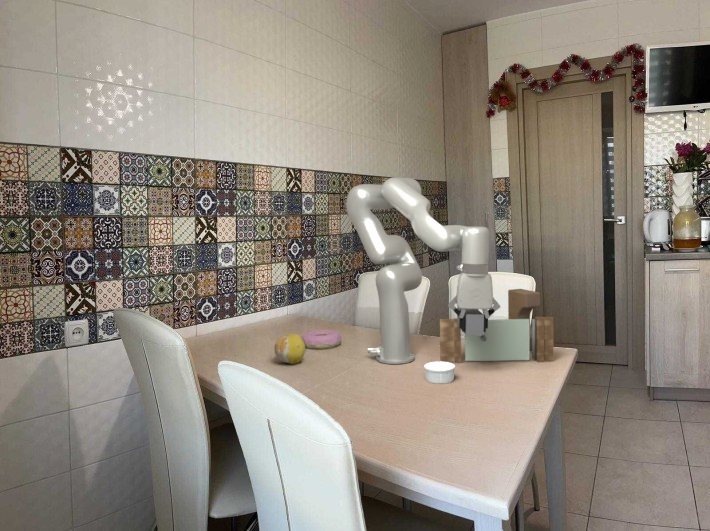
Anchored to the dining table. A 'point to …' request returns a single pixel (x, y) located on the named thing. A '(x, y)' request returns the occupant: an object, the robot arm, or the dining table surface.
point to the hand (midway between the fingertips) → (473, 330)
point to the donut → (321, 339)
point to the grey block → (473, 322)
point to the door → (501, 341)
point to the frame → (452, 340)
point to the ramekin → (439, 372)
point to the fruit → (290, 348)
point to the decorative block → (522, 306)
